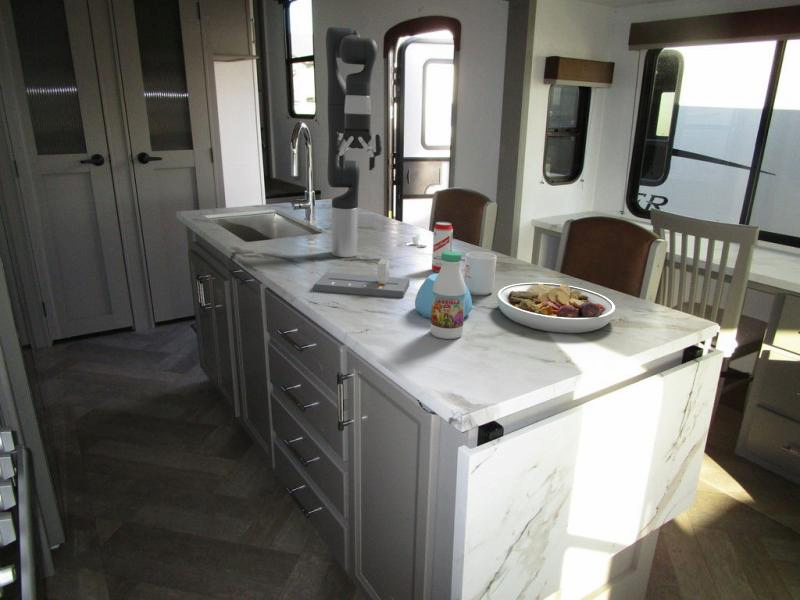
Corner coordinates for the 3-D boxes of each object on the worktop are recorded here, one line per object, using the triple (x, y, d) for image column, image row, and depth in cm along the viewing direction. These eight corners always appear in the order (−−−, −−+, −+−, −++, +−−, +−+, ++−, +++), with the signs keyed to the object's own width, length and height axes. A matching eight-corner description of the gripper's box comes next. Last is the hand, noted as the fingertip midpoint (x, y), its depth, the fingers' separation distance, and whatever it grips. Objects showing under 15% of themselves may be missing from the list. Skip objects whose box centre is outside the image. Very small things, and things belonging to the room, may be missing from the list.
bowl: (473, 306, 157) (476, 279, 155) (554, 294, 171) (557, 268, 169) (550, 346, 133) (554, 314, 130) (637, 327, 147) (642, 298, 144)
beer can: (449, 273, 188) (452, 225, 183) (430, 272, 189) (432, 224, 184) (451, 269, 193) (454, 222, 188) (432, 267, 195) (435, 220, 189)
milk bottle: (428, 327, 140) (432, 248, 134) (459, 328, 141) (465, 248, 134) (432, 340, 133) (437, 256, 126) (465, 340, 133) (471, 256, 127)
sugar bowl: (428, 300, 161) (431, 260, 157) (479, 310, 154) (482, 269, 151) (404, 315, 148) (406, 272, 144) (458, 327, 141) (461, 282, 138)
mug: (499, 294, 168) (502, 257, 165) (473, 297, 165) (476, 259, 161) (476, 283, 179) (479, 248, 175) (452, 285, 175) (454, 250, 171)
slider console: (326, 278, 177) (326, 271, 176) (409, 285, 174) (409, 278, 173) (314, 290, 165) (314, 283, 164) (403, 298, 162) (403, 290, 161)
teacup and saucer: (429, 248, 223) (429, 238, 221) (409, 249, 221) (410, 238, 219) (422, 243, 231) (423, 233, 229) (403, 244, 229) (404, 234, 227)
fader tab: (381, 278, 171) (381, 258, 169) (388, 279, 170) (389, 259, 168) (377, 284, 165) (377, 263, 163) (385, 284, 165) (386, 264, 163)
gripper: (384, 113, 168) (382, 169, 173) (337, 111, 170) (337, 167, 175) (379, 113, 161) (378, 171, 166) (330, 111, 163) (330, 169, 168)
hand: (357, 169), depth 171 cm, fingers open, 8 cm apart
